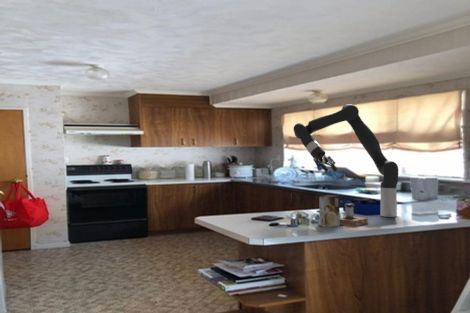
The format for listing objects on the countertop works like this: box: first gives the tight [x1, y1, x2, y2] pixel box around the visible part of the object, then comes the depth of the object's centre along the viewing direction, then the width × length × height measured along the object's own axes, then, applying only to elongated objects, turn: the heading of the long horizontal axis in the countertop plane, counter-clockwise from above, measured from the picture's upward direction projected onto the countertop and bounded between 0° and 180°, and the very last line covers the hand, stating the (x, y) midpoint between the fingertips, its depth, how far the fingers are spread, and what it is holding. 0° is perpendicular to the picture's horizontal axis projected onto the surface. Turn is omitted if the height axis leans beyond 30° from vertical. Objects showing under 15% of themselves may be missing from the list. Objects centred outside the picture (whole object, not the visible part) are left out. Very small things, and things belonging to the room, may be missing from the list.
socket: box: [340, 215, 369, 228], centre depth 251 cm, size 14×14×3 cm
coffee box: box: [318, 194, 341, 228], centre depth 245 cm, size 9×6×16 cm
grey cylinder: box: [344, 203, 355, 220], centre depth 251 cm, size 5×5×11 cm
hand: (331, 170), depth 259 cm, fingers open, 8 cm apart
